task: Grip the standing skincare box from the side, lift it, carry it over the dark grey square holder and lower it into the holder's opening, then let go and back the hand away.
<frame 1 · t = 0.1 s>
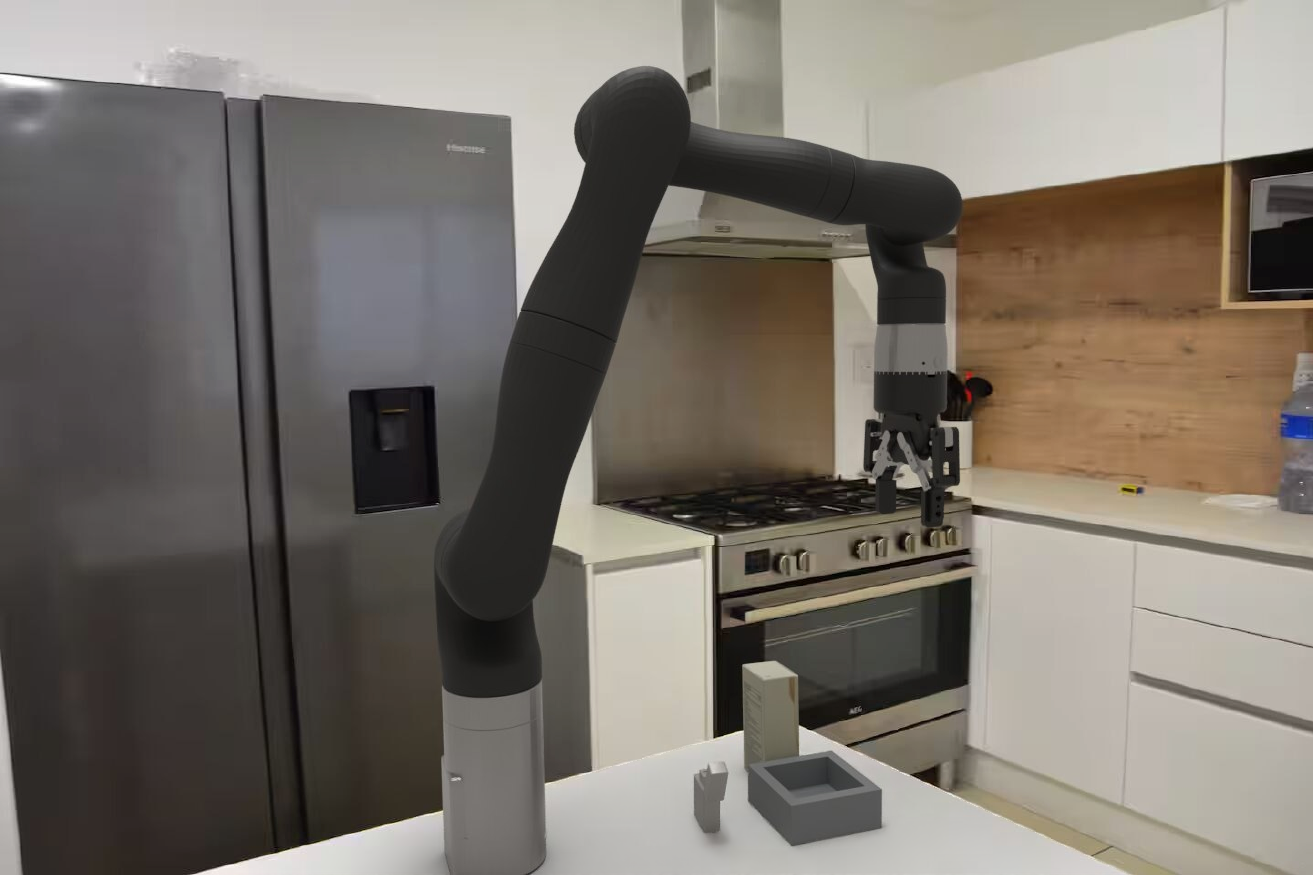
hand: (908, 519, 105), 29 cm above the countertop, tool pointing down, fingers open, 8 cm apart
lighter: (710, 831, 98), on the countertop
skincare box: (770, 776, 110), on the countertop
holder: (812, 813, 101), on the countertop
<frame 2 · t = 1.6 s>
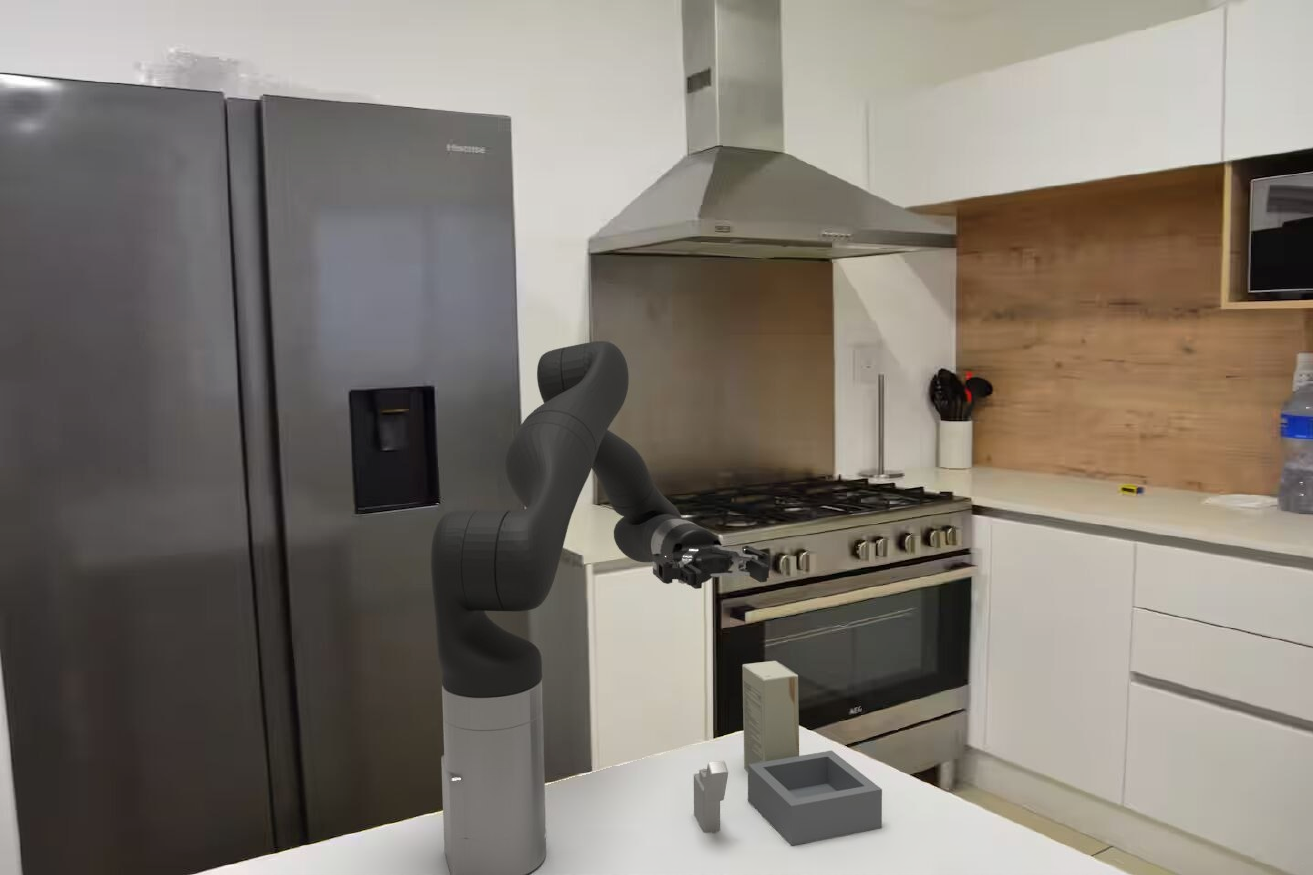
hand: (732, 577, 119), 20 cm above the countertop, tool horizontal, fingers open, 8 cm apart
nothing on the countertop moved.
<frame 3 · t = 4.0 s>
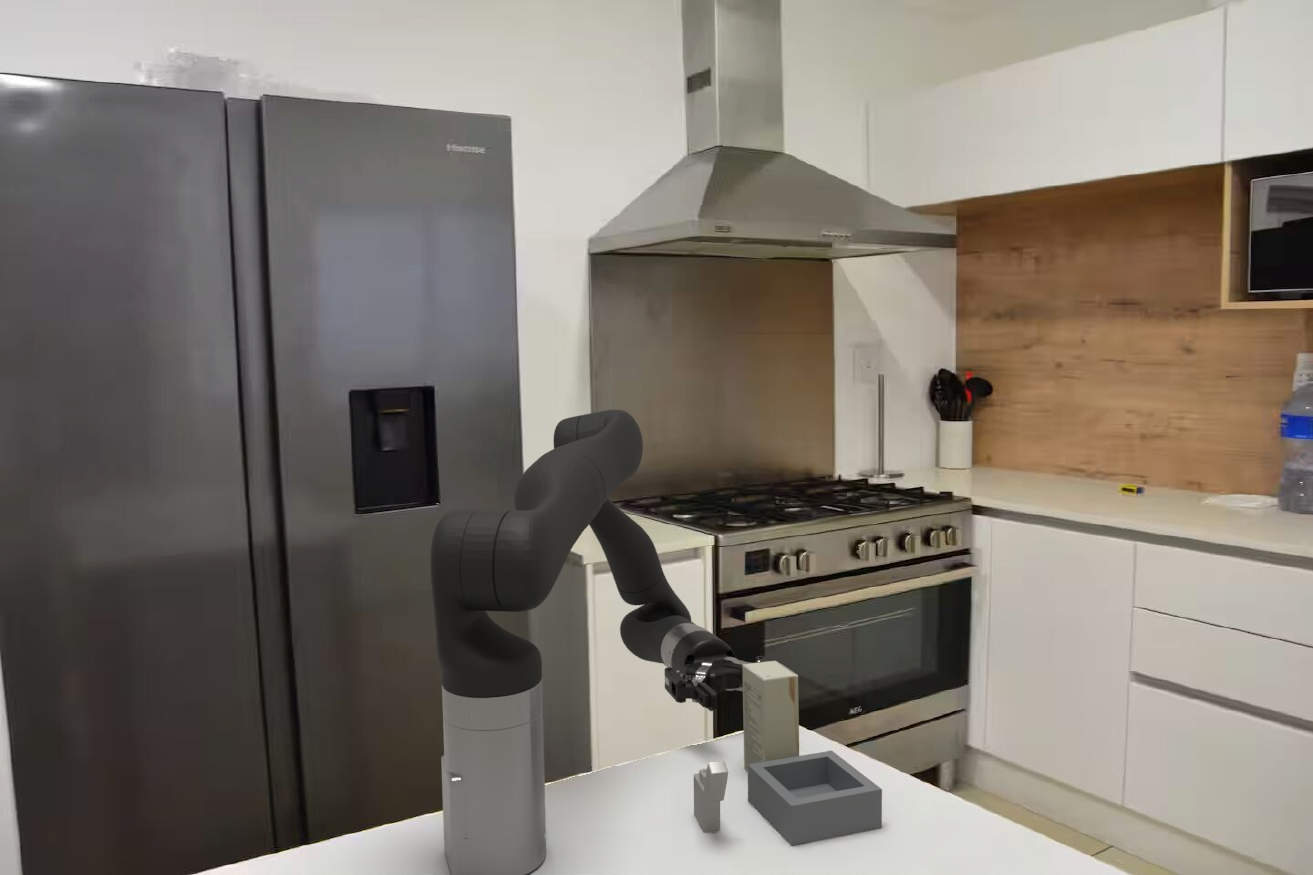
hand: (748, 698, 115), 7 cm above the countertop, tool horizontal, fingers open, 8 cm apart
nothing on the countertop moved.
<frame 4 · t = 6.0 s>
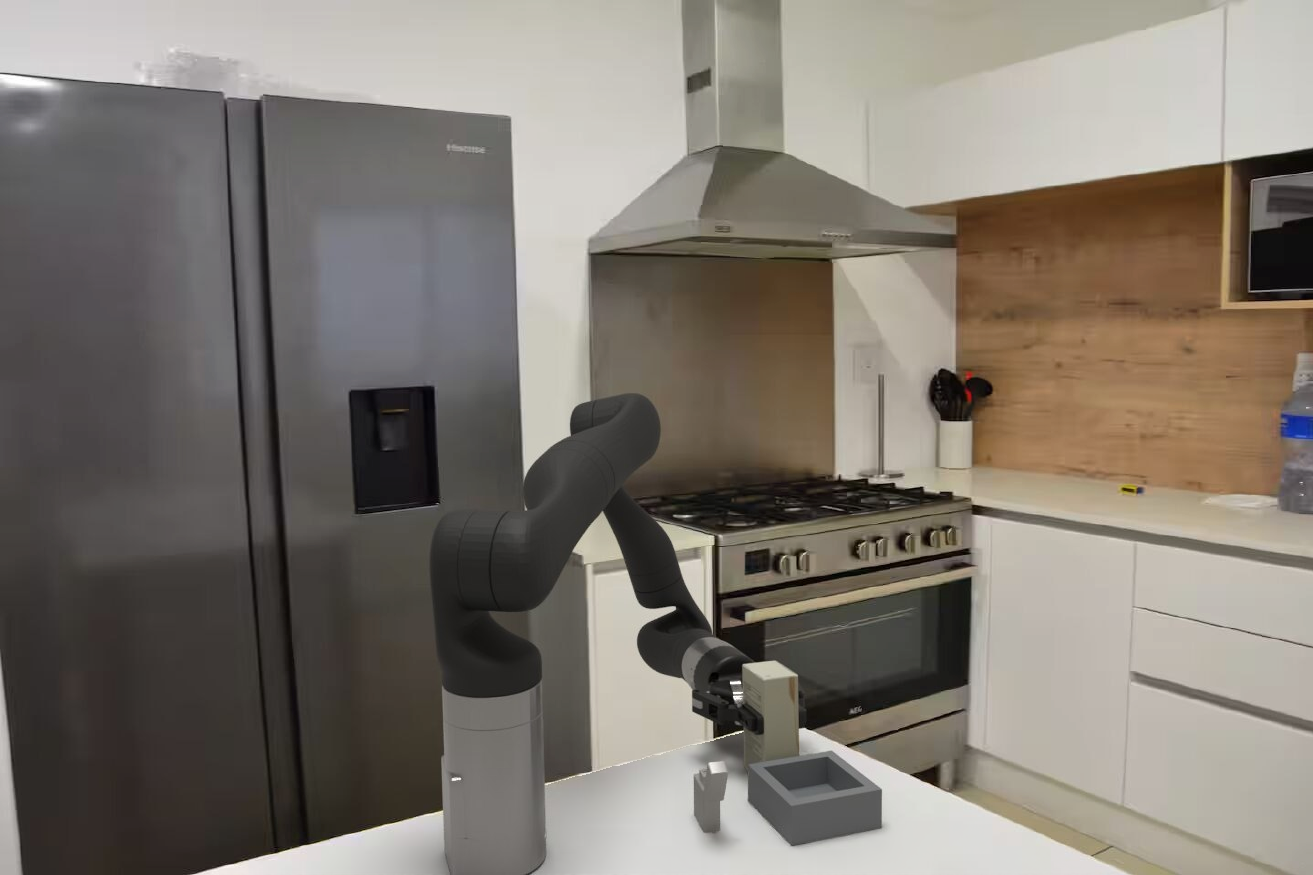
hand: (781, 722, 107), 7 cm above the countertop, tool horizontal, fingers closed on skincare box, 4 cm apart
skincare box: (770, 776, 110), on the countertop, touching gripper
everything else where it was.
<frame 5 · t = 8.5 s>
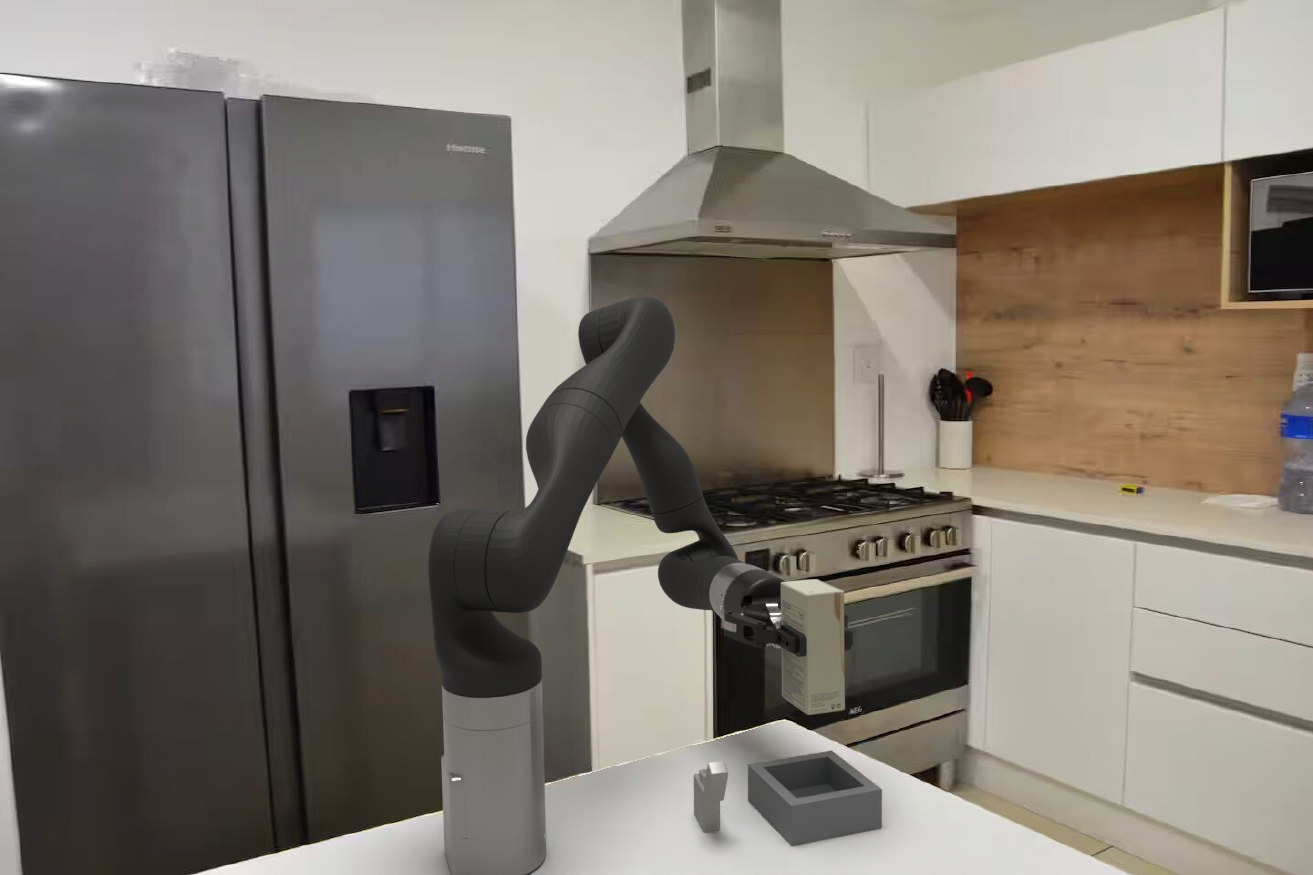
hand: (825, 643, 97), 19 cm above the countertop, tool horizontal, fingers closed on skincare box, 4 cm apart
skincare box: (812, 705, 100), point 11 cm above the countertop, touching gripper
everything else where it was.
when the fingers open (9 cm above the countertop, at t = 11.1 s): skincare box drops 1 cm, resting on holder.
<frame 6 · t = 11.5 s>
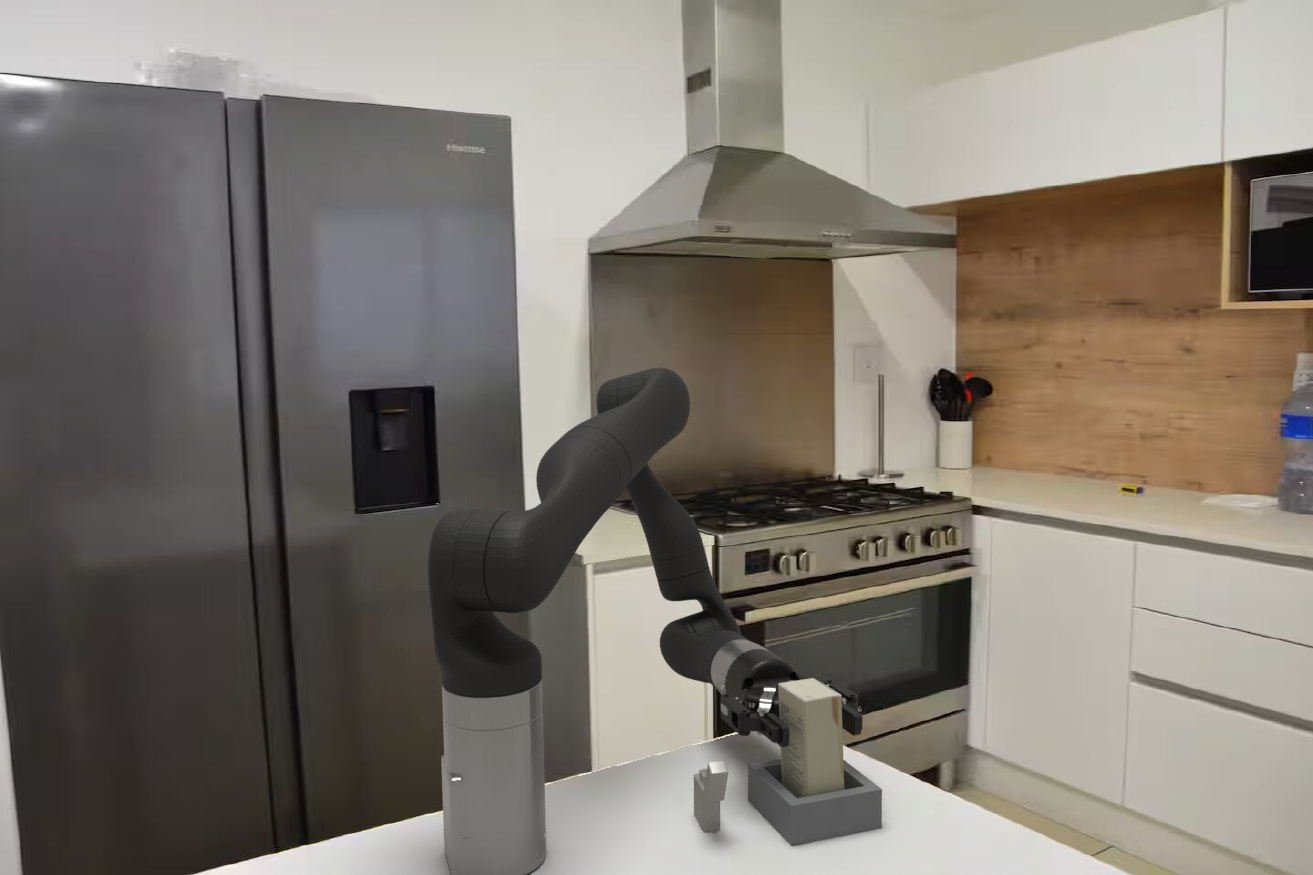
hand: (822, 731, 98), 10 cm above the countertop, tool horizontal, fingers open, 7 cm apart
skincare box: (812, 805, 101), point 1 cm above the countertop, touching holder
everything else where it was.
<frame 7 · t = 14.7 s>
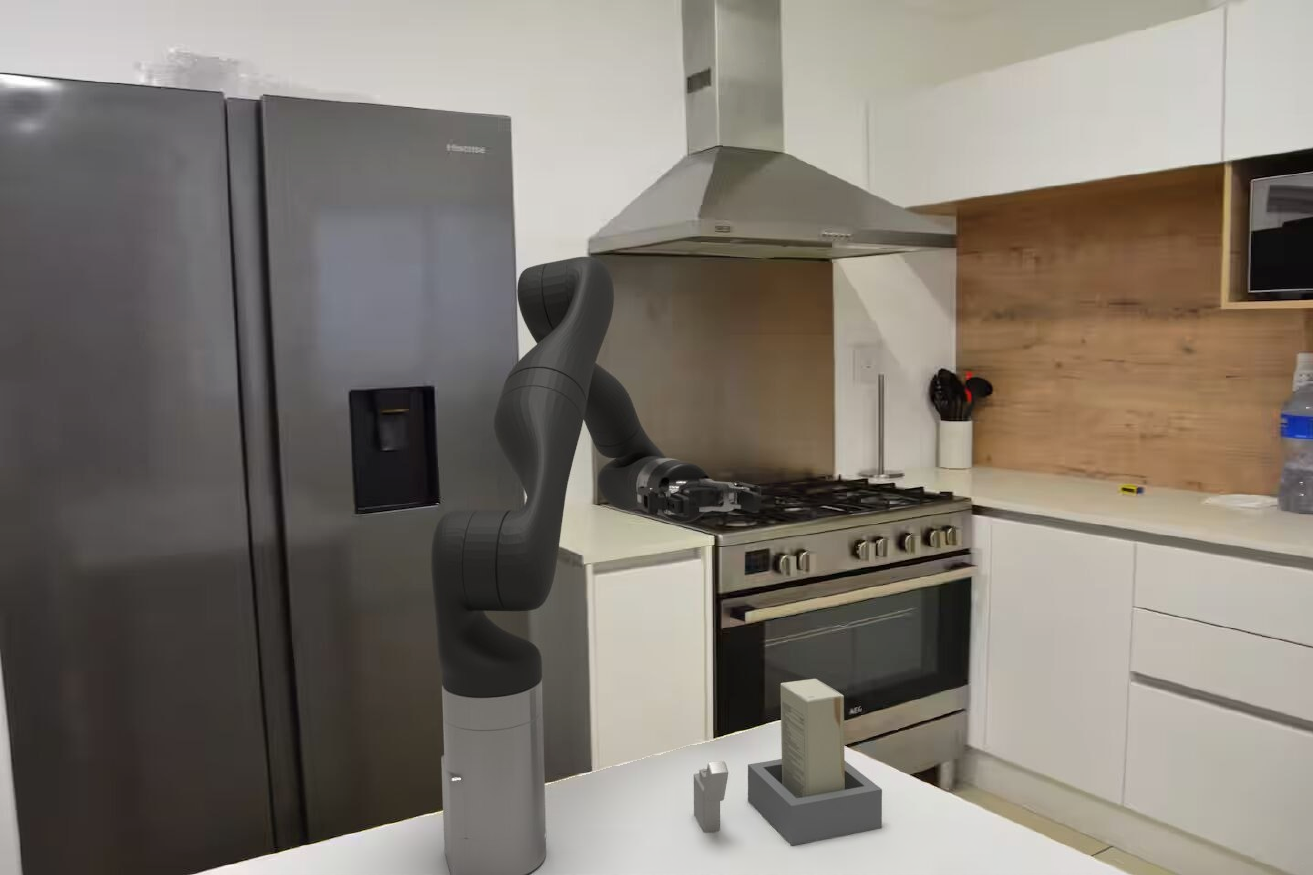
hand: (722, 505, 111), 30 cm above the countertop, tool horizontal, fingers open, 8 cm apart
nothing on the countertop moved.
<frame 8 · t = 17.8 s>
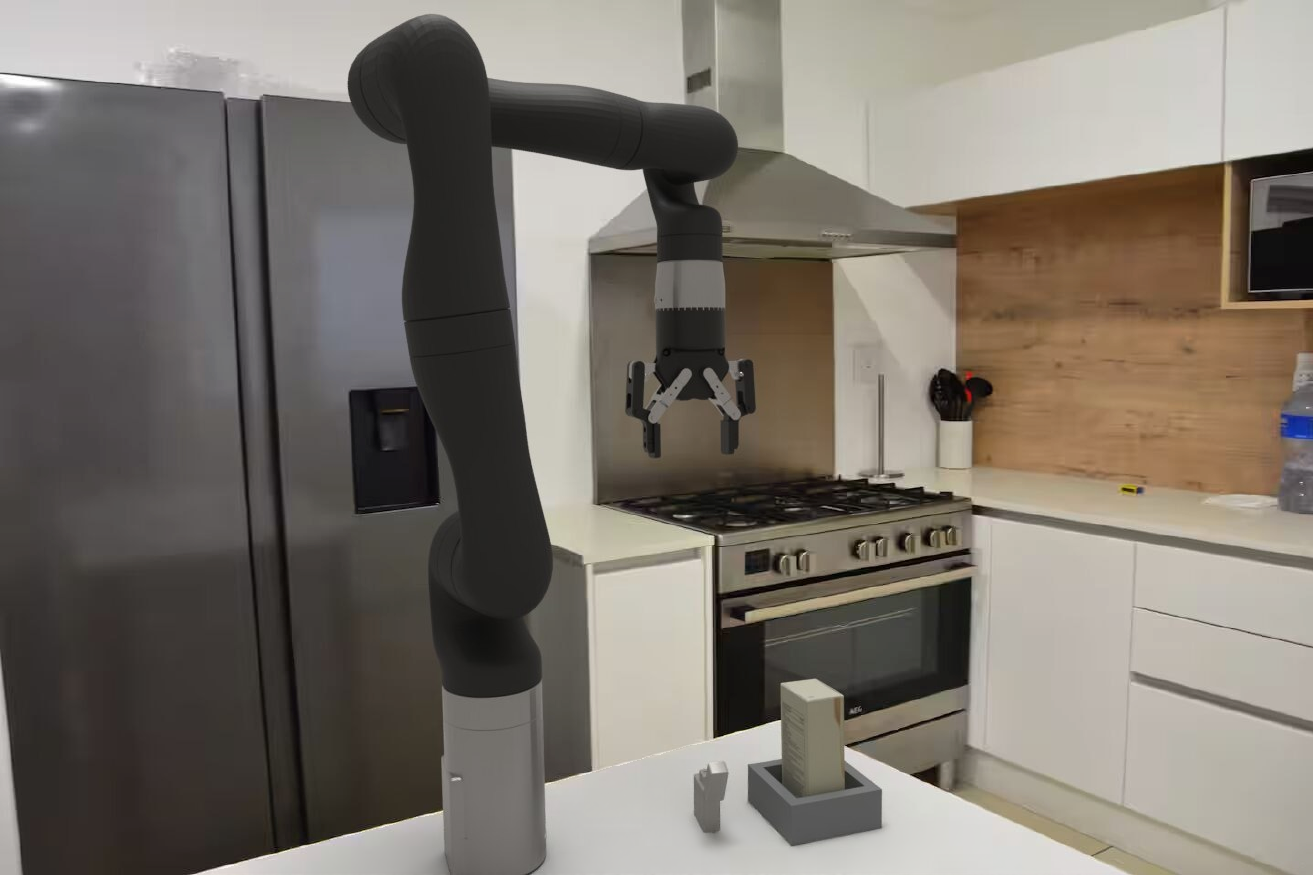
hand: (691, 455, 107), 36 cm above the countertop, tool pointing down, fingers open, 8 cm apart
nothing on the countertop moved.
at the end: skincare box 0.1 cm off-centre on the holder, point 0.8 cm above the holder's base; skincare box tilted 0°; the gripper is holding nothing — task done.
